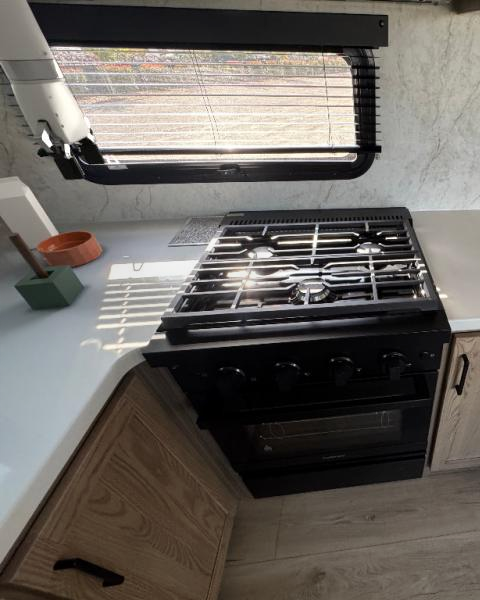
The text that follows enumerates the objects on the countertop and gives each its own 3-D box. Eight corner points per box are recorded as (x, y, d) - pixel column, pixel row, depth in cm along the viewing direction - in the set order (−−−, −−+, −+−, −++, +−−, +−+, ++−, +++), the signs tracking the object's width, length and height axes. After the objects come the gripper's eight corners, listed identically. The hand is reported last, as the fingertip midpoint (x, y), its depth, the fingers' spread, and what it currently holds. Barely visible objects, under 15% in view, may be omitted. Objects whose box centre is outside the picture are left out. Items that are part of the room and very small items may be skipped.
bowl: (39, 272, 90) (25, 254, 86) (63, 250, 99) (51, 232, 95) (92, 267, 92) (81, 249, 89) (110, 246, 101) (100, 229, 98)
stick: (54, 302, 80) (4, 236, 70) (58, 297, 82) (10, 232, 71) (63, 301, 81) (14, 236, 70) (67, 296, 82) (20, 232, 72)
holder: (34, 311, 78) (13, 286, 73) (51, 292, 83) (32, 268, 79) (71, 307, 79) (52, 282, 75) (85, 288, 85) (69, 264, 80)
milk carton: (58, 244, 101) (15, 180, 89) (26, 251, 98) (-23, 185, 86) (60, 235, 106) (19, 172, 94) (29, 241, 102) (-17, 177, 91)
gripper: (36, 67, 66) (85, 160, 77) (-28, 77, 53) (42, 187, 64) (81, 67, 68) (123, 158, 78) (30, 77, 54) (88, 184, 65)
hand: (86, 171), depth 71 cm, fingers open, 9 cm apart
